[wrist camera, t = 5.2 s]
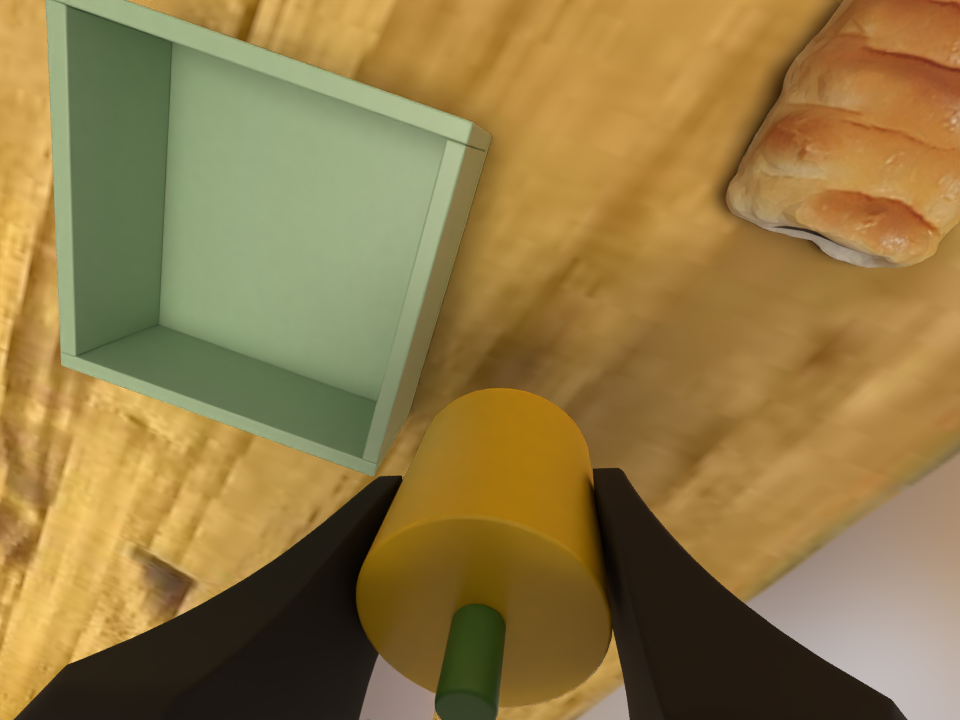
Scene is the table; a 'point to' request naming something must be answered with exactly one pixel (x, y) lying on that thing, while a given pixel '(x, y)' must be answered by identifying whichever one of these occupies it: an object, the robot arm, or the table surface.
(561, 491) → the pepper
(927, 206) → the pastry
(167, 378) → the basket
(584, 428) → the table surface
